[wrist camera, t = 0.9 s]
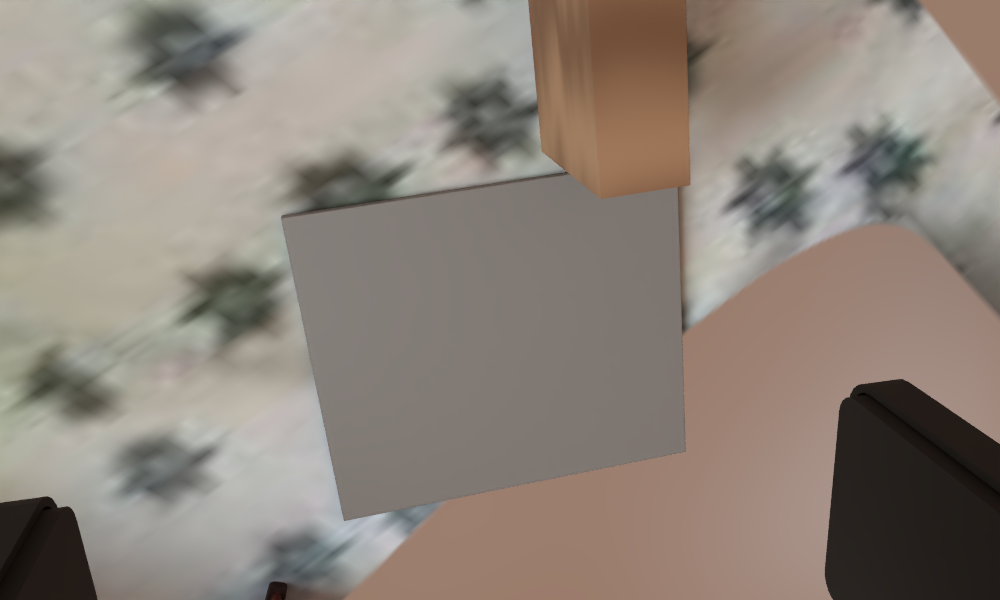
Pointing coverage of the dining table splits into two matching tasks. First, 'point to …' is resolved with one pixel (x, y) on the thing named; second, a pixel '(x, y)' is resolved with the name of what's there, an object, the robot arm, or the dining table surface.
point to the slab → (613, 92)
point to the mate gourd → (276, 591)
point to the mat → (490, 336)
